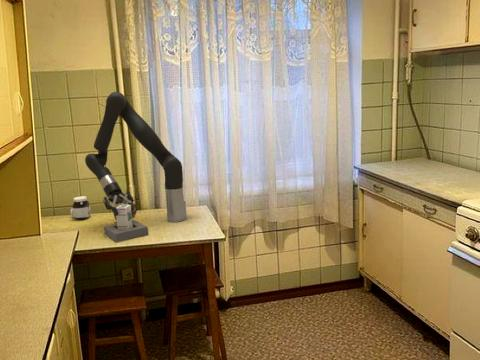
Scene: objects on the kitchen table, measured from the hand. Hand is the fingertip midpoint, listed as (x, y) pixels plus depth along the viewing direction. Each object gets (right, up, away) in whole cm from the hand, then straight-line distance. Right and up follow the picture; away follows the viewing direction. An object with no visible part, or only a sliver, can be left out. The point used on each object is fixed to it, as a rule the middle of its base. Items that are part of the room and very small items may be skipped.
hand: (125, 212), depth 241 cm
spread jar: (-33, -5, +36) cm, 49 cm away
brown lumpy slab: (-6, -6, +29) cm, 30 cm away
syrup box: (0, -11, +3) cm, 12 cm away
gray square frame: (0, -11, +3) cm, 11 cm away
